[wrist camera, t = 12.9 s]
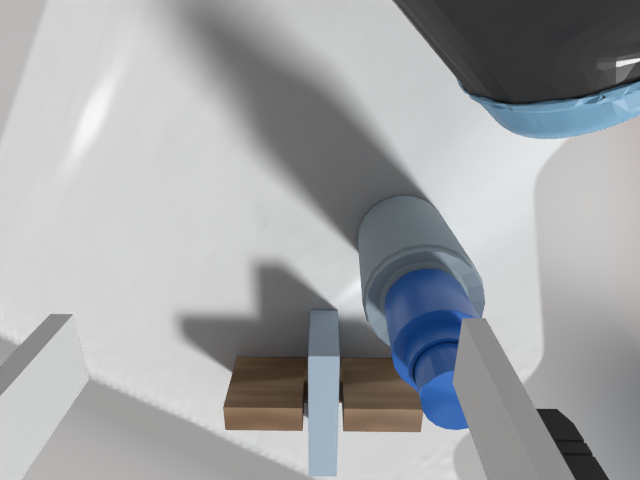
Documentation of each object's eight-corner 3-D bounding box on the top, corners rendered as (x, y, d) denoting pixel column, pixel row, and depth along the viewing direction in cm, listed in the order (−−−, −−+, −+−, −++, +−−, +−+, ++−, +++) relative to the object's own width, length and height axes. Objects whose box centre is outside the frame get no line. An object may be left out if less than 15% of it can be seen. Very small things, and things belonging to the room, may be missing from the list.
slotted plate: (310, 309, 51) (308, 356, 44) (337, 310, 51) (339, 356, 44) (310, 419, 58) (308, 475, 51) (334, 420, 58) (336, 476, 51)
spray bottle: (458, 206, 46) (577, 349, 23) (430, 286, 49) (509, 484, 26) (370, 185, 46) (398, 308, 22) (348, 267, 49) (351, 450, 25)
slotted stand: (236, 356, 54) (223, 407, 47) (410, 358, 54) (423, 409, 47) (238, 377, 55) (225, 429, 48) (407, 379, 55) (420, 432, 48)
